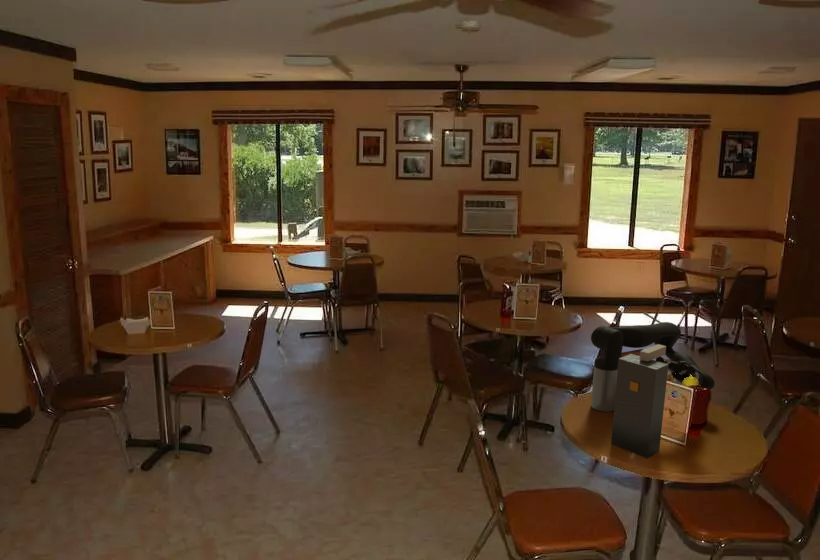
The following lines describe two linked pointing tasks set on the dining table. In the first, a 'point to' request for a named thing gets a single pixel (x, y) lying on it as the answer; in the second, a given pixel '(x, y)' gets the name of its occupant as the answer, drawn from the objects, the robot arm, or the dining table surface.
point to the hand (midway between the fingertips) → (668, 361)
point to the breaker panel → (639, 405)
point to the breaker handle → (652, 352)
